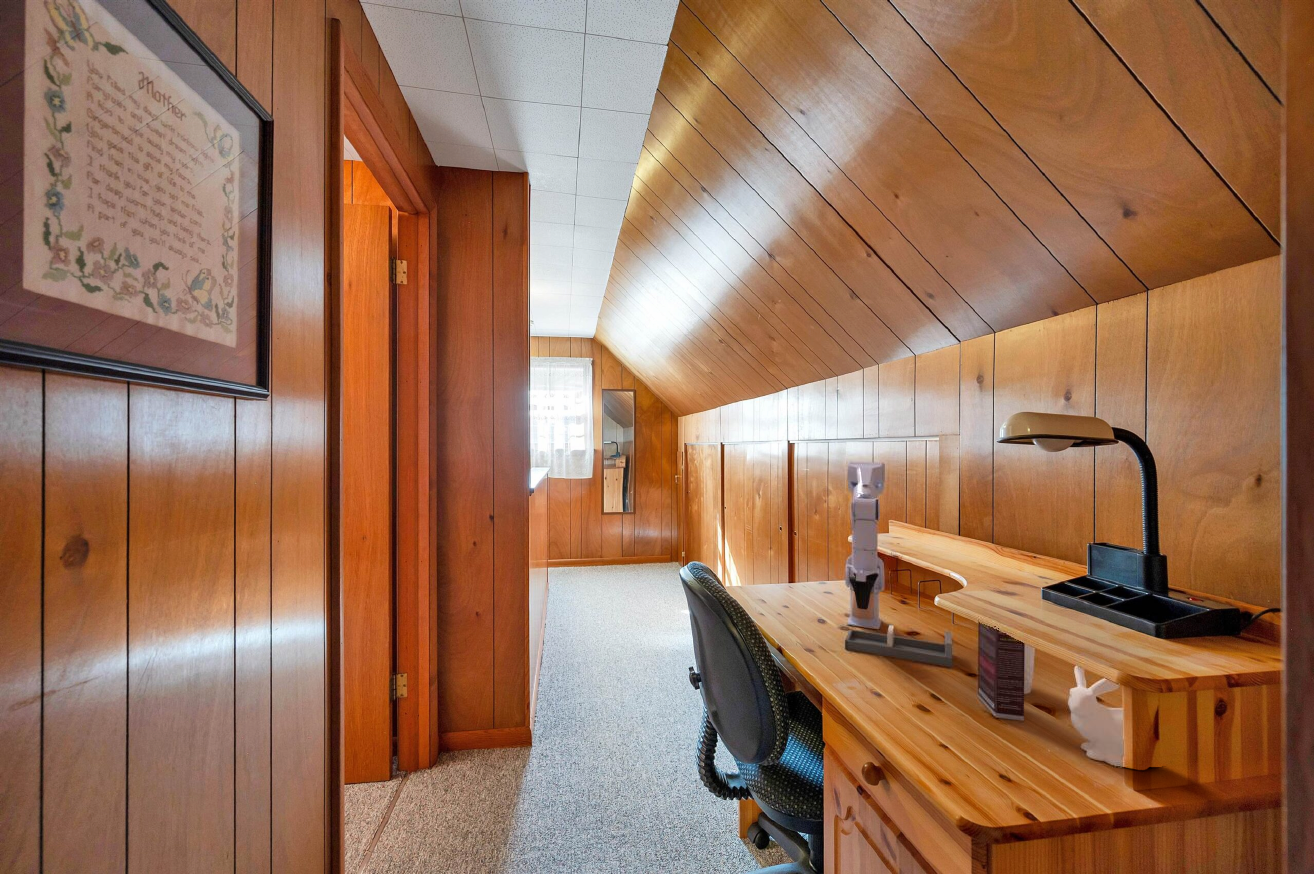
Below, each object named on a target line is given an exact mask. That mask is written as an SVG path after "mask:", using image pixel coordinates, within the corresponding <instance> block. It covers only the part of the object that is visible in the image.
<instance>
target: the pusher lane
mask: <svg viewBox="0 0 1314 874" xmlns="http://www.w3.org/2000/svg"><path fill="white" fill-rule="evenodd" d="M844 649H845V650H848V651H855V652H859V653H860V652H861V653H867V654H871V653H872V655H878V656H883V657H890V658H895V659H900V660H906V661H911V662H917V661H918V662H919V663H924V664H930V665H936V666H940V667H941V666H942V667H947V668H953V639H952V632H951V631H948V630H944V643H940V642H935V641H934V642H933V641H928V640H927V641H926V640H920V639H915V638H909V637H902V636H895V635H894V644H893V647H887V634H882V633H877V632H871V631H864V630H859V629H858V630H857V629H852V628H851V629H849V631H848V633H847V635H846V637H845V640H844Z"/></svg>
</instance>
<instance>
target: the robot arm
mask: <svg viewBox="0 0 1314 874" xmlns="http://www.w3.org/2000/svg"><path fill="white" fill-rule="evenodd" d="M846 471H847V476H846V477H847V486H848V487H847V489H848V492H849V493H851V494H853V497H852V499H851V500H850V509H849V510H850V514H849V516H850V522H851V529H852V531H851V555H850V556H848V557H847V559H846V563H845V577H844V579H845V580H844V581H845V586H846V587H847V588H849V592H850V593H849V594H850V595H849V596H850V599H849V601H850V607H849V609H850V610H849V617H848V620H847V621H846V625H848V626H853V627H854V626H855V627H860V628H866V629H874V630H880V628H881V624H882V621H883V620H882V618H881V617H880V615H879V614H880V593H881V592H882V591H884V590H885V580H886V579H885V578H886V577H885V568H884V567H885V563H884V561H883V560H882V558H880V557H878V541H879V540H878V532H879V531H878V529H879V527H878V525H879V523H880V519H881V518H880V517H881V511H880V510H881V503H880V499H879V498H878V496H880V495H882V494H883V493H884V490H885V483H886V464H885V462H883V461H880V462H878V461H877V462H876V461H873V462H872V461H871V462H870V461H852V460H849V462H847V469H846ZM852 587H853V589H854V593H855V597H856V603H857V607H858V609H865V610H867V608H868V605H869V600H870V594H871V590H872V588H873V587H874V588H875V618H874V619H871V620H864V619H858V618H855V617H853V616H852Z"/></svg>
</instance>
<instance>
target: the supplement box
mask: <svg viewBox="0 0 1314 874" xmlns="http://www.w3.org/2000/svg"><path fill="white" fill-rule="evenodd" d="M994 627H996V626H994ZM977 629H978V633H977V634H978V636H977V637H978V641H977V642H978V643H977V644H978V647H977V648H978V649H977V650H978V651H977V652H978V653H977V654H978V655H977V656H978V657H977V698H978V699H979V700H980V701H981V702H982V703H983V704H984V707H986V708H987V709H988V711H989V712H990V713H991V714H992V715H993V716H994V717H995V718H998V719H1003V720H1009V721H1010V720H1011V721H1022V722H1024V721H1025V694H1024V661H1025V643H1023V642H1021V641H1019V640H1016V639H1014V638H1013V637H1011V636H1009V635H1007V634H1006V633H1003V632H1001V631H999V630H997V629H994V628H993V627H990V626H987V625H985V624H982V623H980V622H979V621H978V628H977ZM998 629H999V628H998Z"/></svg>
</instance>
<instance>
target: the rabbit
mask: <svg viewBox="0 0 1314 874" xmlns="http://www.w3.org/2000/svg"><path fill="white" fill-rule="evenodd" d="M1073 671H1074V676H1075V681H1076V685H1077V686H1075V687H1072V688H1070V689H1069V697H1068V700H1067V705H1068V708H1069V710H1070V721H1071V723H1072V726H1073V728H1075V730H1076V731H1077V733H1079V735H1081V736H1082V737H1083V738H1084V739H1086V740H1088V742H1083V743H1081V745H1080V748H1081V749H1082V750H1083V751H1085V752H1086V753H1085V756H1087V757H1088V758H1089V759H1092V760H1095V761H1101V762H1105V763H1107V764H1108V765H1111V766H1113V765H1114V766H1113V767H1116V766H1123V757H1124V739H1123V707H1120V708H1119V707H1107V706H1106V705H1104V704H1101V703H1099V702H1098V700H1097V696H1099V695H1102V694H1105V693H1109V692H1112V691H1115V690H1117V689H1118V688H1119V687H1120V684H1119V685H1117V684H1115V683H1113V682H1111V681H1109V680H1107V679H1105V678H1106V677H1104V678H1102V679H1100V680H1098V681H1096V682H1095V683H1093V684H1092V685H1091V686H1090V687H1089V688H1087V680H1086V677H1085V668H1084V669H1083V668H1080V667H1078V666H1077V665H1075V666H1074V670H1073Z"/></svg>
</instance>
